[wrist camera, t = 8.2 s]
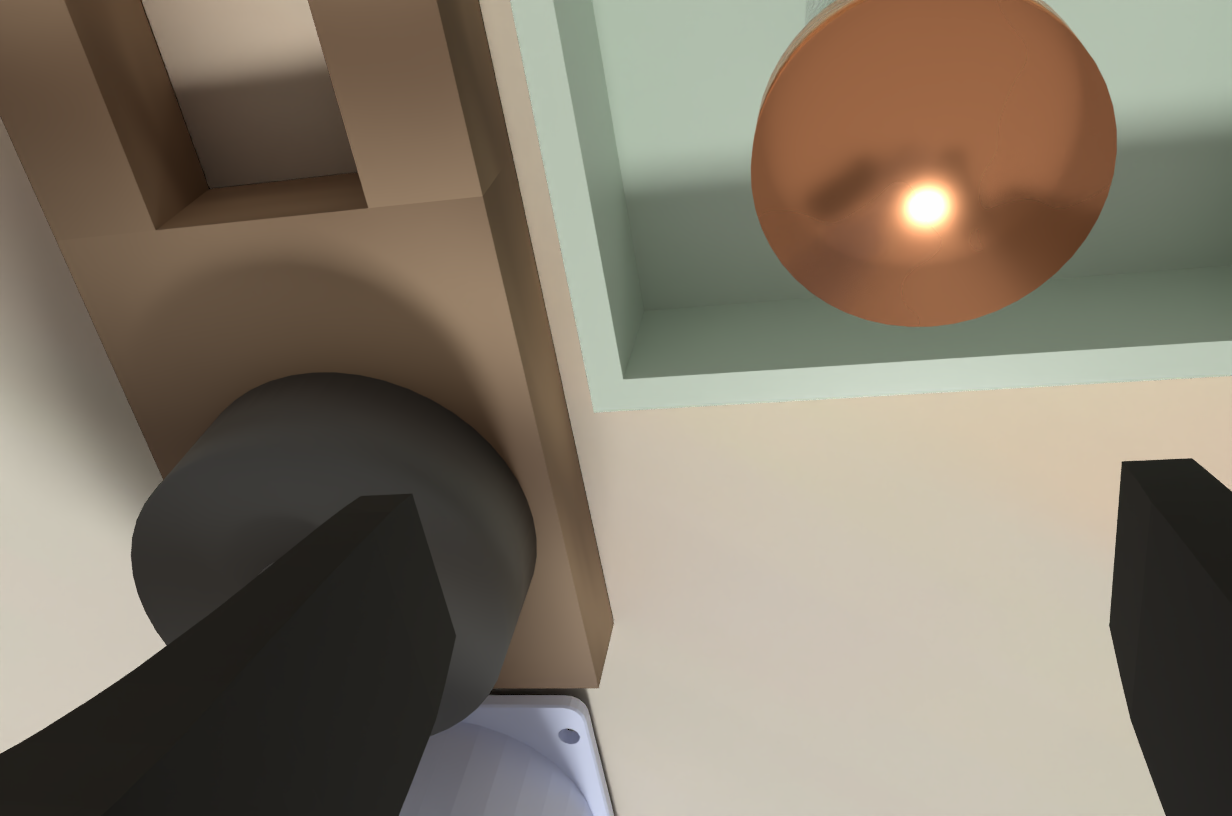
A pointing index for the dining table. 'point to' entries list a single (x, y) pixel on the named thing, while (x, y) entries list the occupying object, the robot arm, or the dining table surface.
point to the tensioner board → (324, 326)
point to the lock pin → (931, 155)
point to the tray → (782, 307)
